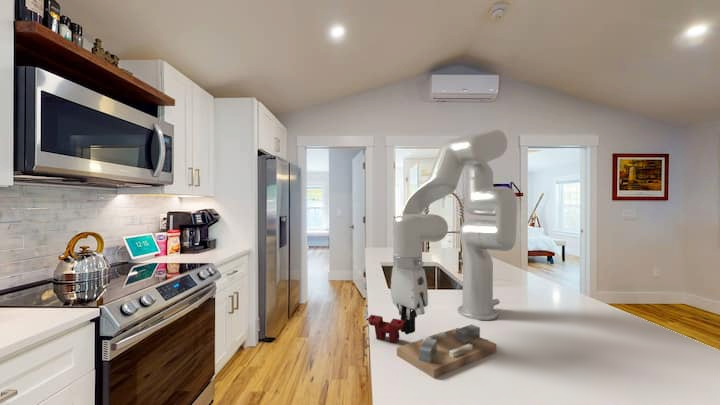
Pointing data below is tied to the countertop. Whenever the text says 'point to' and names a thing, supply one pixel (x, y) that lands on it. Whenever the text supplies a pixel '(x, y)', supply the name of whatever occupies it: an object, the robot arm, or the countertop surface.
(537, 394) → the countertop surface
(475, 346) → the jig
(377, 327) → the bracket
